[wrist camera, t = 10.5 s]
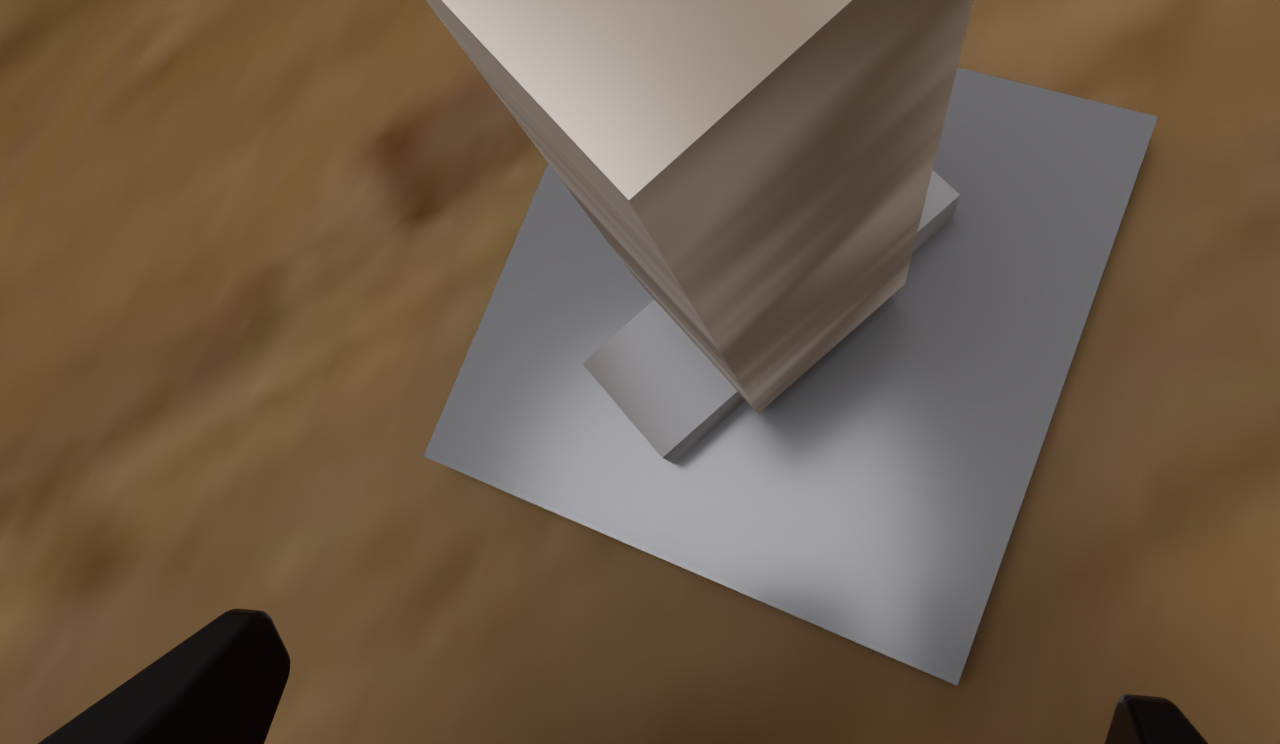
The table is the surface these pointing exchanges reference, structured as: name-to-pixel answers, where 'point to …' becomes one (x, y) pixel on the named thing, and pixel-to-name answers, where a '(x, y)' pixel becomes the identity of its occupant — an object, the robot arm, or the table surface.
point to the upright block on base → (732, 173)
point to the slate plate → (829, 391)
